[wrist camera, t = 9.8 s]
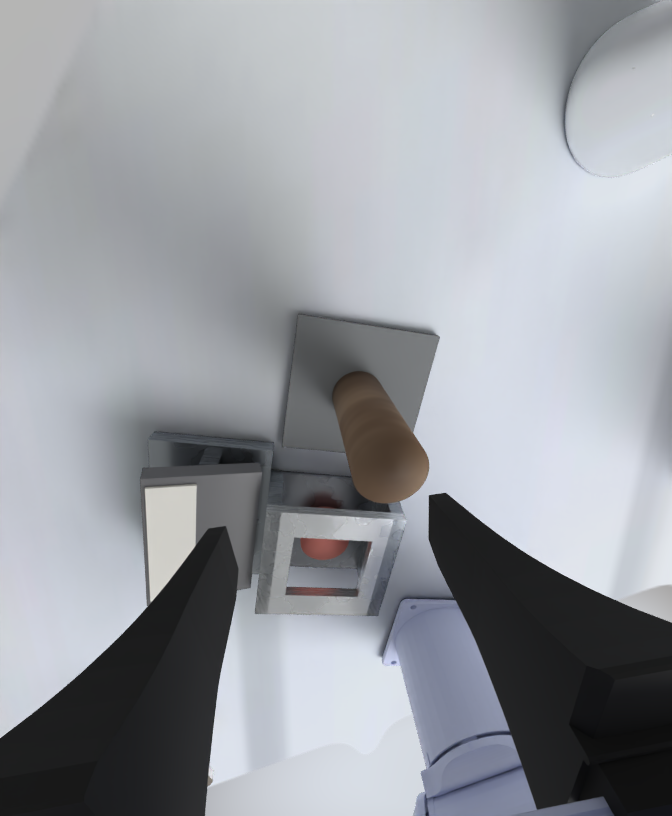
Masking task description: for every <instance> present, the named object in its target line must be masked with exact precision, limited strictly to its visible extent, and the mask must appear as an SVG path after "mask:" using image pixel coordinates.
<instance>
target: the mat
mask: <svg viewBox="0 0 672 816" xmlns="http://www.w3.org/2000/svg"><path fill="white" fill-rule="evenodd" d="M439 338H440V337H439V336H438V335H432V334H425V333H419V332H412V331H406V330H400V329H393V328H387V327H380V326H374V325H367V324H361V323H354V322H348V321H341V320H335V319H328V318H322V317H315V316H309V315H302V314H298V320H297V328H296V336H295V344H294V352H293V360H292V368H291V377H290V385H289V393H288V401H287V409H286V417H285V425H284V433H283V441H282V447H289V448H300V449H311V450H321V451H332V452H343V453H346V452H345V448H344V444H343V440H342V436H341V432H340V428H339V424H338V420H337V416H336V412H335V408H334V404H333V400H332V393H333V389H334V387H335V385H336V383H337V382H338V380H339V379H340V378H341V377H343V376H344V375H346V374H348V373H351V372H355V371H363V372H367V373H370V374H372V375H373V376H375V377H376V378H377V379H378V381H379V382H380V384H381V385H382V387H383V388H384V390H385V391H386V393H387V394H388V396H389V397H390V399H391V400H392V402H393V403H394V405H395V406H396V408H397V410H398V411H399V413H400V414H401V416H402V417H403V419H404V420H405V422H406V423H407V425H408V426H409V428H410V429H411V431H412V432H413V431H414V427H415V424H416V420H417V417H418V413H419V410H420V406H421V402H422V399H423V395H424V392H425V388H426V385H427V381H428V377H429V374H430V370H431V367H432V363H433V360H434V356H435V352H436V349H437V345H438V342H439Z"/></svg>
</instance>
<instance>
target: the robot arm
mask: <svg viewBox="0 0 672 816" xmlns="http://www.w3.org/2000/svg"><path fill="white" fill-rule="evenodd" d="M429 541H430V544H431V547H432V550H433V553H434V556H435V558H436V561H437V564H438V566H439V568H440V570H441V572H442V574H443V576H444V578H445V580H446V582H447V584H448V586H449V588H450V590H451V592H452V594H453V596H454V598H455V600H432V599H404V600H403V601H401V603H400V606H399V609H398V612H397V615H396V618H395V621H394V624H393V627H392V630H391V633H390V636H389V639H388V642H387V645H386V648H385V651H384V654H383V657H382V663H383V665H385V666H401V670H402V674H403V678H404V682H405V686H406V690H407V693H408V697H409V701H410V705H411V709H412V713H413V717H414V721H415V725H416V729H417V733H418V736H419V740H420V745H421V749H422V753H423V756H424V760H425V764H426V768H427V769H426V770H423V771H421V776H422V780H423V785H424V789H425V792H423V793H420V794H419V795H418V796H417V800H416V806H415V810H414V814H413V816H672V623H671V622H668V621H666V620H663V619H660V618H658V617H655V616H653V615H650V614H647V613H644V612H642V611H639V610H637V609H634V608H632V607H629V606H627V605H625V604H622V603H620V602H618V601H616V600H614V599H611V598H609V597H607V596H604V595H602V594H600V593H598V592H596V591H594V590H592V589H590V588H587V587H585V586H584V585H582V584H580V583H578V582H576V581H574V580H572V579H570V578H568V577H566V576H564V575H562V574H560V573H558V572H557V571H555V570H553V569H551V568H549V567H548V566H546V565H544V564H543V563H541V562H539V561H538V560H536V559H534V558H533V557H531V556H529V555H528V554H526V553H525V552H523V551H521V550H520V549H518V548H517V547H516V546H514V545H513V544H511V543H510V542H508V541H507V540H505V539H504V538H502V537H501V536H500V535H498V534H497V533H496V532H494V531H493V530H492V529H490V528H489V527H488V526H486V525H485V524H484V523H482V522H481V521H480V520H479V519H477V518H476V517H475V516H473V515H472V514H471V513H470V512H469V511H467V510H466V509H465V508H464V507H462V506H461V505H460V504H459V503H458V502H456V501H455V500H454V499H453V498H451V497H450V496H449V495H448V494H446V493H441V494H435V495H429ZM238 571H239V568H238V565H237V562H236V558H235V555H234V551H233V548H232V545H231V541H230V538H229V534H228V531H227V528H226V526H222V527H215V528H208V530H207V531H206V532H205V533H204V535H203V536H202V537H201V539H200V540H199V542H198V543H197V544H196V546H195V547H194V548H193V550H192V551H191V553H190V554H189V555H188V557H187V558H186V559H185V561H184V562H183V563H182V565H181V566H180V567H179V569H178V570H177V571H176V572H175V574H174V575H173V576H172V578H171V579H170V580H169V582H168V583H167V584H166V585H165V587H164V588H163V589H162V590H161V591H160V593H159V594H158V595H157V596H156V597H155V599H154V600H153V601H152V602H151V603H150V605H149V606H148V607H147V608H146V609H145V610H144V611H143V613H142V614H141V615H140V616H139V617H138V618H137V619H136V620H135V621H134V622H133V623H132V625H131V626H130V627H129V628H128V629H127V630H126V631H125V632H124V633H123V634H122V635H121V636H120V637H119V638H118V639H117V640H116V641H115V642H114V643H113V644H112V645H111V646H110V647H109V648H108V649H106V650H105V651H104V652H103V653H102V654H101V655H100V656H99V657H98V658H97V659H96V660H95V661H94V662H93V663H92V664H90V665H89V666H88V667H87V668H86V669H85V670H84V671H83V672H82V673H81V674H80V675H78V676H77V677H76V678H75V679H74V680H73V681H71V682H70V683H69V684H68V685H67V686H66V687H65V688H63V689H62V690H61V691H60V692H59V693H57V694H56V695H55V696H54V697H52V698H51V699H50V700H49V701H48V702H46V703H45V704H44V705H43V706H42V707H40V708H39V709H38V710H37V711H35V712H34V713H33V714H32V715H30V716H29V717H28V718H26V719H25V720H24V721H22V722H21V723H20V724H18V725H17V726H16V727H14V728H13V729H12V730H11V731H9V732H8V733H7V734H5V735H4V736H3V737H1V738H0V816H205V806H206V794H207V784H208V773H209V762H210V753H211V743H212V734H213V724H214V716H215V708H216V700H217V692H218V684H219V679H220V673H221V668H222V663H223V658H224V654H225V649H226V644H227V640H228V635H229V630H230V625H231V621H232V616H233V611H234V606H235V601H236V593H237V583H238Z"/></svg>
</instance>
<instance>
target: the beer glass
mask: <svg viewBox="0 0 672 816" xmlns="http://www.w3.org/2000/svg"><path fill="white" fill-rule="evenodd" d="M565 132H566V138H567V142H568V146H569V149H570V151H571V153H572V155H573V157H574V159H575V160H576V161H577V163H578V164H579V165H580V166H581V167H582V168H583V169H585V170H586V171H587V172H589V173H591V174H593V175H596V176H599V177H607V178H613V177H620V176H624V175H627V174H630V173H633V172H636V171H638V170H640V169H643V168H645V167H647V166H649V165H651V164H653V163H655V162H658V161H660V160H662V159H664V158H666V157H668V156H671V155H672V0H662V1H660V2H658V3H655V4H653V5H651V6H648V7H646V8H644V9H642V10H640V11H637V12H635V13H633V14H631V15H629V16H627V17H626V18H624V19H622V20H621V21H619V22H618V23H616V24H615V25H613V26H612V27H611V28H609V29H608V30H607V31H606V32H605V33H604V34H603V35H602V36H601V37H600V38H599V39H598V40H597V41H596V42H595V43H594V45H593V46H592V47H591V48H590V50H589V51H588V52H587V54H586V55H585V57H584V59H583V60H582V62H581V64H580V66H579V67H578V69H577V72H576V74H575V76H574V78H573V81H572V84H571V87H570V90H569V94H568V98H567V103H566V110H565Z"/></svg>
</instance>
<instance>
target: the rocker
mask: <svg viewBox="0 0 672 816" xmlns="http://www.w3.org/2000/svg"><path fill="white" fill-rule="evenodd" d="M261 479H262V470H261V466H260V463H238V464H216V465H194V466H172V467H150V468H143V469H142V474H141V478H140V483H141V502H142V521H143V539H144V558H145V577H146V596H147V606H149V605H150V603H151V602H152V601H153V600H154V599H155V597H156V596H157V595H158V594H159V593H160V591H161V590H162V589H163V588H164V587H165V585H166V584H167V583H168V582H169V580H170V579H171V578H172V576H173V575H174V574H175V572H176V571H177V570H178V569H179V567H180V566H181V565H182V563H183V562H184V561H185V559H186V558H187V557H188V555H189V554H190V553H191V551H192V550H193V548H194V547H195V546H196V544H197V543H198V542H199V540H200V539H201V537H202V536H203V535H204V533H205V532H206V531H207V530H208V528H215V527H222V526H226V528H227V531H228V534H229V538H230V541H231V545H232V548H233V551H234V555H235V558H236V562H237V565H238V568H239V571H238V583H237V590H241V589H247V588H250V587H251V577H252V567H253V557H254V548H255V538H256V528H257V518H258V509H259V499H260V489H261Z"/></svg>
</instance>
